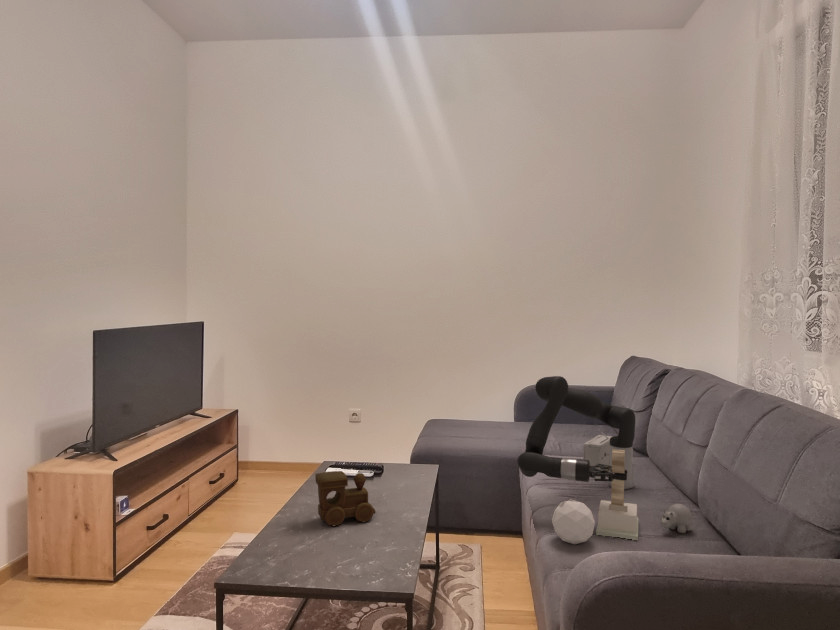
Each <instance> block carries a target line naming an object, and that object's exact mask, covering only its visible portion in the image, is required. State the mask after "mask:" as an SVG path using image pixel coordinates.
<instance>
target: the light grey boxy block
mask: <svg viewBox="0 0 840 630" xmlns="http://www.w3.org/2000/svg"><path fill="white" fill-rule="evenodd" d="M597 431H599V432H600V433H601V434H598V435H596V436H594V437H593V438H591V439H590V440H588V441H586V442H584V443H583V453H582V456H583V457H582V459H583V460H589V461H590V466H595V465H597V464H604V465H609V454H610V438H611V437H613V436H612V435H606V434H604V432H602V430H600V429H599V428H598V429H597Z"/></svg>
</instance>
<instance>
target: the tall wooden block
mask: <svg viewBox="0 0 840 630" xmlns="http://www.w3.org/2000/svg"><path fill="white" fill-rule="evenodd" d="M612 472H616V473H625V450H615V449H613V450H612ZM610 488H611V489H610V492H611V496H610V501H611V504H612V505H619V506H624V503H625V489H624V480H616V479H615V480H613V481H612V486H610Z"/></svg>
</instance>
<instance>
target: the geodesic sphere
mask: <svg viewBox="0 0 840 630" xmlns="http://www.w3.org/2000/svg"><path fill="white" fill-rule="evenodd" d="M553 511H554V512H553V514H552V519H551V522H552V523H551V524H552V525H553V529H554V531H555V534H557V536H558V537H559V538H560V539H561V541H563V542H566V543H568V544H572V545H577V544H581V543H585V542H587V541H588V540H589V539H590V537H591V536H592V535H593V534H594V528H595V524H596V522H595V518H594V515H593V512H592V510H591V509H590V508H589V507H588V506H587V505H586V504H585V503H583V502H581V501H578V500H575V499H571V498H569V500H565V501H562V502H560V503H559V504H558V506H557V507H556V508H555V509H554V510H553Z"/></svg>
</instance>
